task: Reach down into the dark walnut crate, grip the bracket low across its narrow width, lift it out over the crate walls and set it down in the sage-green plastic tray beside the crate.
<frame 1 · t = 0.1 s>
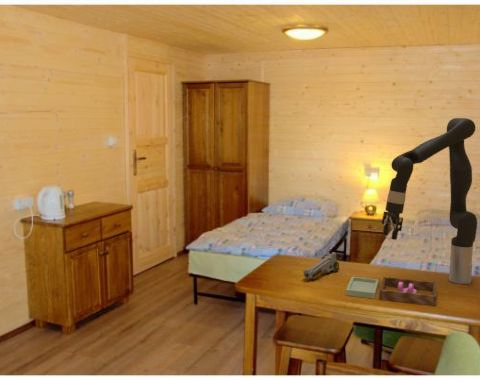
hand: (389, 237, 230), 22 cm above the table, tool pointing down, fingers open, 8 cm apart
bracket: (407, 296, 221), on the table
tray: (362, 289, 227), on the table
toy: (321, 276, 247), on the table
crate: (407, 295, 221), on the table
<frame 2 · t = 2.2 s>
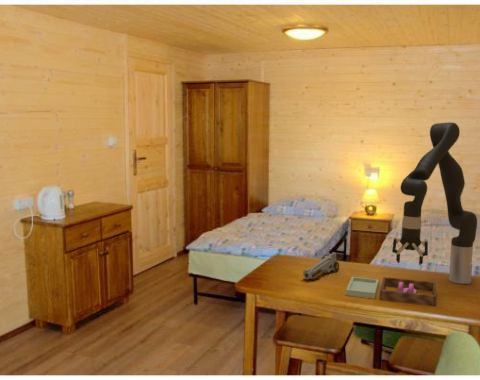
hand: (409, 263, 219), 14 cm above the table, tool pointing down, fingers open, 8 cm apart
nothing on the table moved.
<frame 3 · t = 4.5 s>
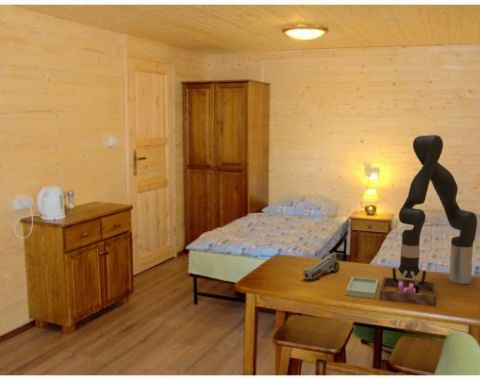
hand: (407, 292, 220), 1 cm above the table, tool pointing down, fingers closed on bracket, 6 cm apart
bracket: (407, 295, 221), on the table, touching gripper
everything else where it was.
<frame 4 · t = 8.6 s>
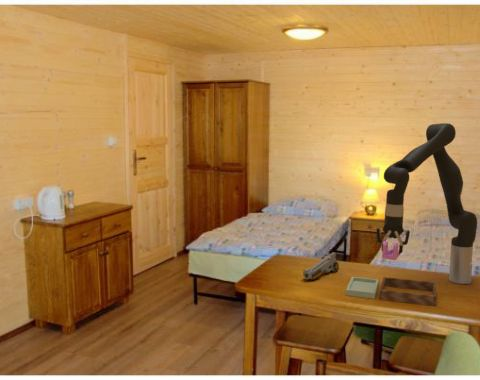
hand: (391, 252, 220), 18 cm above the table, tool pointing down, fingers closed on bracket, 6 cm apart
bracket: (391, 255, 220), point 17 cm above the table, touching gripper
everything else where it was.
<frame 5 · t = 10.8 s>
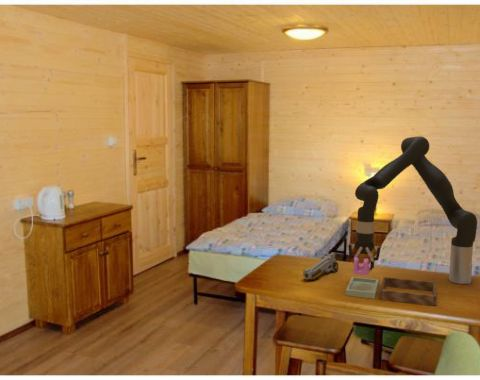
hand: (363, 268, 226), 10 cm above the table, tool pointing down, fingers closed on bracket, 6 cm apart
bracket: (363, 271, 226), point 9 cm above the table, touching gripper
everything else where it was.
when the fingers open (4 cm above the table, at t = 12.8 s): bracket drops 2 cm, resting on tray.
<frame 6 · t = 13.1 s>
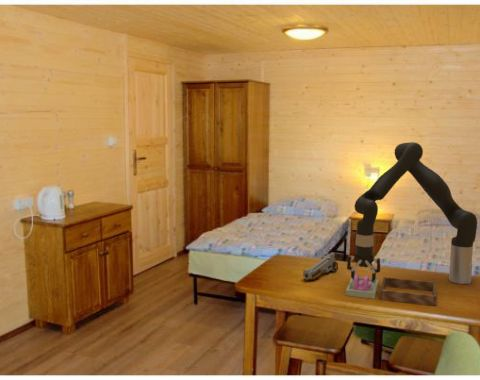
hand: (363, 280, 226), 5 cm above the table, tool pointing down, fingers open, 8 cm apart
bracket: (363, 288, 227), point 1 cm above the table, touching tray
everything else where it was.
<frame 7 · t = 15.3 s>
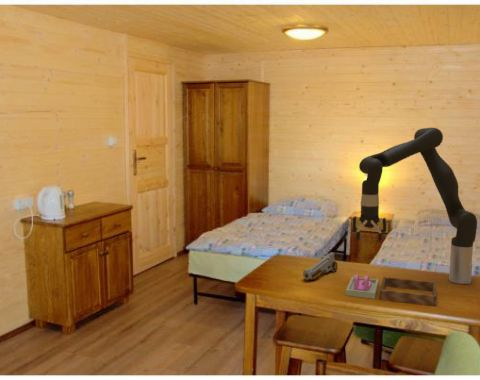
hand: (368, 240, 225), 22 cm above the table, tool pointing down, fingers open, 8 cm apart
nothing on the table moved.
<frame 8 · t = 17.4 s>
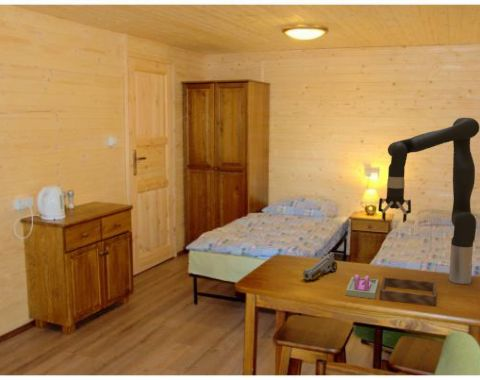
hand: (394, 221, 236), 28 cm above the table, tool pointing down, fingers open, 8 cm apart
nothing on the table moved.
at the end: bracket inside the target area on the tray (0.3 cm from its centre), point 0.8 cm above the tray's base; the gripper is holding nothing; bracket tilted 0° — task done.
